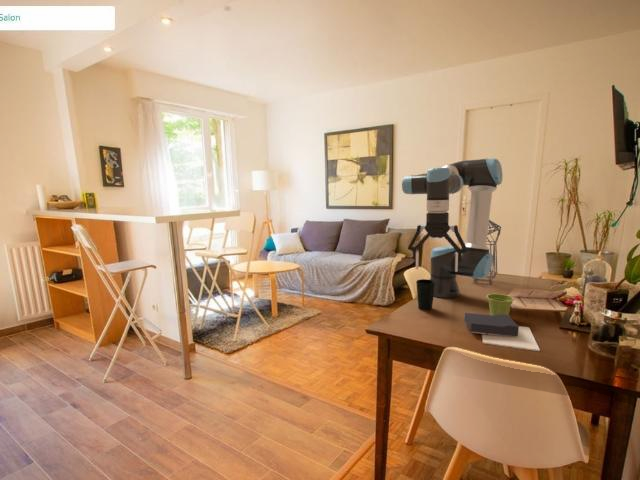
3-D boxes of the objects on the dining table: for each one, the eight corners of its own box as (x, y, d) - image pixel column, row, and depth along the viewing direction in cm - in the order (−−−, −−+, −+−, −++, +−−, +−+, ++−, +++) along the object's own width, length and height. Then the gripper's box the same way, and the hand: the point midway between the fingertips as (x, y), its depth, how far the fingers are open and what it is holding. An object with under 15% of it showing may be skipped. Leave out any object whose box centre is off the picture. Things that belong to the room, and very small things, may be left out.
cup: (434, 306, 144) (435, 279, 142) (434, 312, 137) (435, 284, 135) (416, 304, 147) (416, 278, 145) (415, 310, 139) (415, 283, 138)
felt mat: (480, 322, 125) (480, 321, 125) (528, 328, 119) (528, 327, 119) (483, 343, 109) (483, 341, 109) (539, 351, 103) (539, 349, 103)
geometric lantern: (497, 287, 168) (501, 219, 162) (464, 283, 176) (466, 218, 171) (499, 280, 181) (503, 216, 176) (468, 276, 189) (470, 216, 184)
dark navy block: (470, 333, 114) (517, 338, 111) (471, 321, 114) (519, 326, 110) (463, 321, 125) (506, 326, 122) (464, 311, 124) (508, 315, 121)
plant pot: (487, 321, 126) (488, 300, 125) (484, 312, 135) (485, 292, 134) (514, 324, 123) (516, 302, 122) (509, 315, 132) (511, 294, 130)
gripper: (400, 212, 118) (400, 269, 122) (476, 212, 109) (474, 274, 112) (403, 211, 125) (403, 265, 129) (475, 210, 115) (473, 269, 119)
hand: (436, 269), depth 120 cm, fingers open, 13 cm apart
